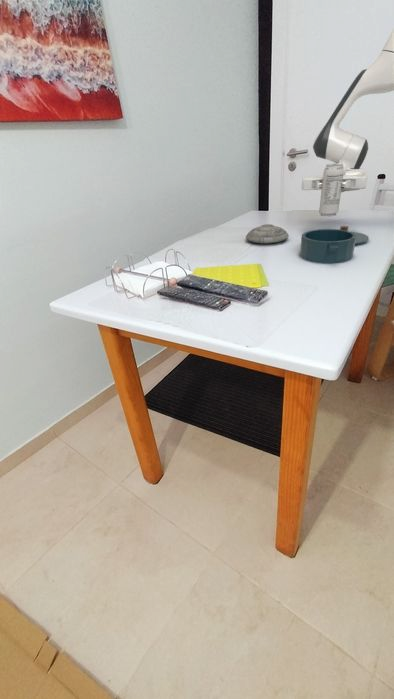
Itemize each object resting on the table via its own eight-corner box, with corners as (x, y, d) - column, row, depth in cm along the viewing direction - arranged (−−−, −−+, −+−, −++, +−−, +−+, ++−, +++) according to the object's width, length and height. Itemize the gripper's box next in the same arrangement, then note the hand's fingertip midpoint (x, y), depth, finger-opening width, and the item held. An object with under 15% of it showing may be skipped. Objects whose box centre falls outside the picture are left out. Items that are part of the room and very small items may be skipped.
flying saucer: (239, 245, 118) (239, 228, 115) (252, 234, 129) (253, 219, 126) (282, 247, 112) (283, 230, 109) (292, 235, 123) (293, 220, 120)
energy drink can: (336, 212, 115) (343, 162, 107) (338, 216, 110) (346, 164, 102) (317, 213, 116) (323, 164, 108) (319, 217, 111) (325, 165, 103)
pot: (344, 245, 109) (347, 226, 106) (360, 265, 92) (364, 243, 89) (297, 246, 111) (298, 227, 108) (304, 267, 95) (306, 245, 91)
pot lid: (361, 233, 119) (363, 220, 116) (374, 246, 106) (377, 231, 103) (314, 235, 122) (316, 221, 119) (321, 247, 108) (323, 233, 106)
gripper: (305, 171, 120) (299, 176, 109) (368, 168, 112) (368, 173, 102) (303, 190, 123) (297, 197, 113) (364, 189, 116) (364, 196, 105)
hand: (331, 185), depth 107 cm, fingers closed on energy drink can, 6 cm apart
